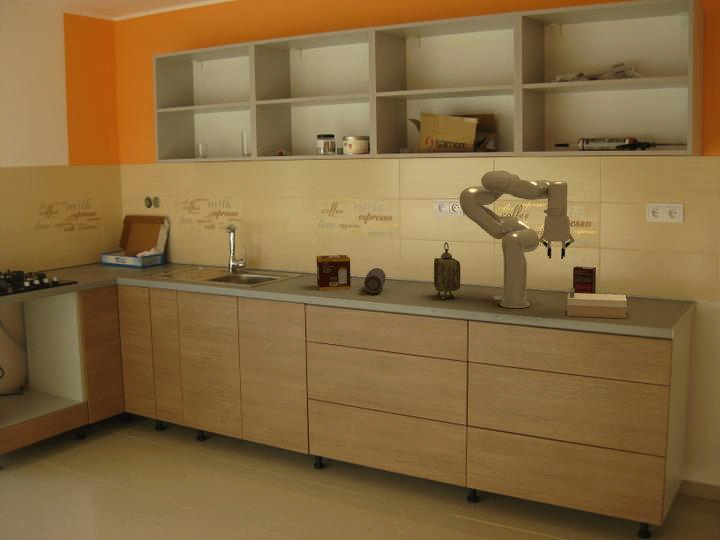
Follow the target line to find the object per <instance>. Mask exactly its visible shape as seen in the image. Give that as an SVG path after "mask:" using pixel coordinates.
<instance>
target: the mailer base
mask: <svg viewBox="0 0 720 540" xmlns="http://www.w3.org/2000/svg"><path fill="white" fill-rule="evenodd" d="M566 309H567V313H566V314H567V317H581V318H582V317H583V318H584V317H585V318H605V319H607V318H610V319H627V306H626V307H603V306H576V305H568V304H567V308H566Z"/></svg>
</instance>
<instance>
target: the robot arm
mask: <svg viewBox="0 0 720 540" xmlns="http://www.w3.org/2000/svg"><path fill="white" fill-rule="evenodd" d="M480 180H481V181H480V183H481V185H480V186H477V185H476V186H469V187H466V188H464V189H463V190H462V191H461V193H460V195H459V205H460V208H461V211H462V213H463V214H464V215H465V216H466V217H467V218H468V219H469V220H470V221H472V222H473V223H475V224H476V225H478V226H479V228H481V229H482V230H484V231H485V233H487V234H488V235H490V237H492V238H493V239H494V240H501V249H502V255H503V293H502V294H500V295H492V300H493V301H500V302H499V306H500V307H502V308H507V309H525V308H526V309H527V308H528V307H530V306H531V302H529V301H527V284H528V283H527V281H528V278H527V275H528V263H527V259H526V256H525V253H530V252H534V251H535V250H537V249H538V247H539V245H540V243H541V244H542V245H543V246H544V247H545V248H546V249H547V257H548V259H549V260H550V259H552V247H551V244H552V242H555V243H556V242H561V245H562V246H561V252H560V254H561V255H560V258H561V260H564V258H565V257H566V249H567V248H568V247H569V246H570V245H572V244H573V243H575V241H576V240H575V238H574V237H573V236H572V233H571V225H570V217H569V215H568V183H567V182H566V181H563V180H562V181H561V180H559V181H557V180H556V181H555V180H554V181H552V180H546V179H543V180H542V179H541V180H525V179H520V177H519V175H517V174H513V173H511V172H508V171H507V170H490V171H487V172H485V173H484V174H483V175H482V176H481V179H480ZM504 194H505V195H510V196H512V197H514V198H517V199H523V200H528V201H536V200H547V207H546V209H543V214H546V216H545V217H544V222H543V232H542V234H541V236H540V237H539V234H538V233H537V232H536V231H535V229H533V228H531V227H530V226H529V225H528V224H526V223H525V222H523V220H521V219H520V218H518V217H516V216H513V215H505V216H502V215H498V214H497V213H495V212H494V211H493V210H492V209H491V208H489V207H486V206H489V205H491V204H493V203H494V202H497V201H498V200H499V198H501V197H502V196H503V195H504Z"/></svg>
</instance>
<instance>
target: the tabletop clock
mask: <svg viewBox="0 0 720 540" xmlns="http://www.w3.org/2000/svg"><path fill="white" fill-rule="evenodd" d="M449 246H450V245H449V243H448V242H447V241H446V242H444V244H443V247H444V252H443V253H442V254H441V255H440V257H434V261H433V283H434V289H435V290H436V291H437V293H436V295H437V296H438V297H439V296H440V295H441V293H442V292H444V293H443V296H442V297H441V300H442V301H445V300H447V299H446V294H447V293H448V292H449V298H454V295H453V294H452V292H456V291H458V290H461V289H460V288H461V263H460V261H459V260H457V259H456V258H453V255H452V254H451V253H450V252H449ZM446 247H447V248H446Z"/></svg>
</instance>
